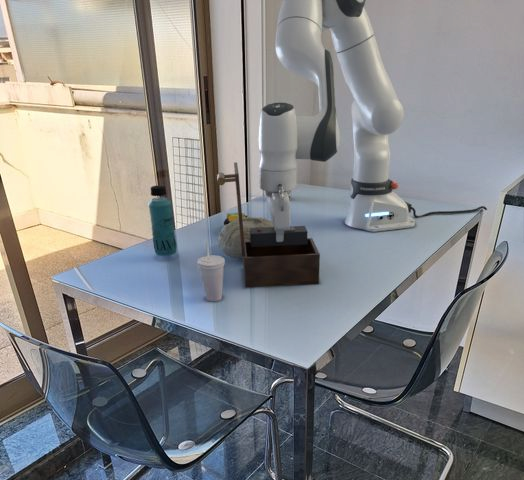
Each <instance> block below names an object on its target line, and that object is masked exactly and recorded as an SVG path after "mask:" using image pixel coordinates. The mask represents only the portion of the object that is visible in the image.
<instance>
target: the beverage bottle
mask: <svg viewBox="0 0 524 480" xmlns="http://www.w3.org/2000/svg"><path fill="white" fill-rule="evenodd" d="M150 195H151V196H152V197H153V198H152V199H151V200H150V201H149V202H148V204H147V205H148V210H149V217H150V225H151V228H150V230H151V232H152V233H151V236H152V243H153V250H154V253H155V255H157V256H159V257H168V256H172V255H175V254H176V253H177V248H178V247H177V239H176V234H175V232H176V231H175V222H174V216H173V208H172V207H173V206H172V201H171V200H170V199H169V198H167V197H165V196H166V195H167V190H166V186H165V185H162V184H161V185H157V184H156V185H152V186H150ZM163 196H164V197H163Z"/></svg>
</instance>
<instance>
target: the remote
mask: <svg viewBox="0 0 524 480" xmlns="http://www.w3.org/2000/svg"><path fill="white" fill-rule="evenodd" d="M307 238H308V230H307V227H306V225H292V226H291V225H290V228H289V230H286V231H284V238H283V242H277V241H276V230H275V229H274V227H263V228H250V242H251V247H265V246H288V245H307Z"/></svg>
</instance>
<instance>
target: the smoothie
mask: <svg viewBox="0 0 524 480" xmlns="http://www.w3.org/2000/svg"><path fill="white" fill-rule="evenodd" d="M209 246H210V245H209V241H206V242H205V248H206V249H205V250H206V255H205V256H201V257H200V258H198V259H197V267H198V268H199V272H200V277H201V281H202V284H203V289H204V293H205V298H206V300H207V301H208V302H219V301H220V300H222V299H223V285H224V284H223V283H224V268H225V265H226V261H225V260H226V259H225V258H224V257H223V256H221V255H217V254H211V255H210V247H209Z"/></svg>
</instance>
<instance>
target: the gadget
mask: <svg viewBox="0 0 524 480" xmlns="http://www.w3.org/2000/svg"><path fill="white" fill-rule="evenodd" d="M243 217H248V215H246V213H244V212H242V218H243ZM238 218H239V217H238V211H236V212H228V213H226V218H225V219H224V221H223V226H225V224H229V223H230V222H231V221H234V220H236V219H238Z"/></svg>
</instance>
